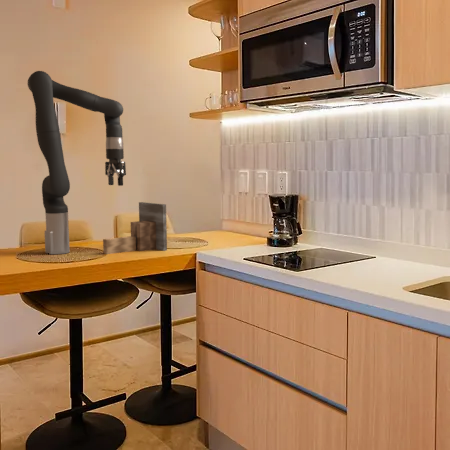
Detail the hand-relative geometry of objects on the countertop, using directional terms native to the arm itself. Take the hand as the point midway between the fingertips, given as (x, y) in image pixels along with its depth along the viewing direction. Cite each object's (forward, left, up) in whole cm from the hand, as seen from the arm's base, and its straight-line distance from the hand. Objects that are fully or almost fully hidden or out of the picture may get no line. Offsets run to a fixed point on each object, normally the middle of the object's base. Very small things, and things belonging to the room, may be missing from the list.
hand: (115, 185), depth 237 cm
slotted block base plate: (+8, -9, -28) cm, 31 cm away
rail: (-2, -9, -28) cm, 30 cm away
